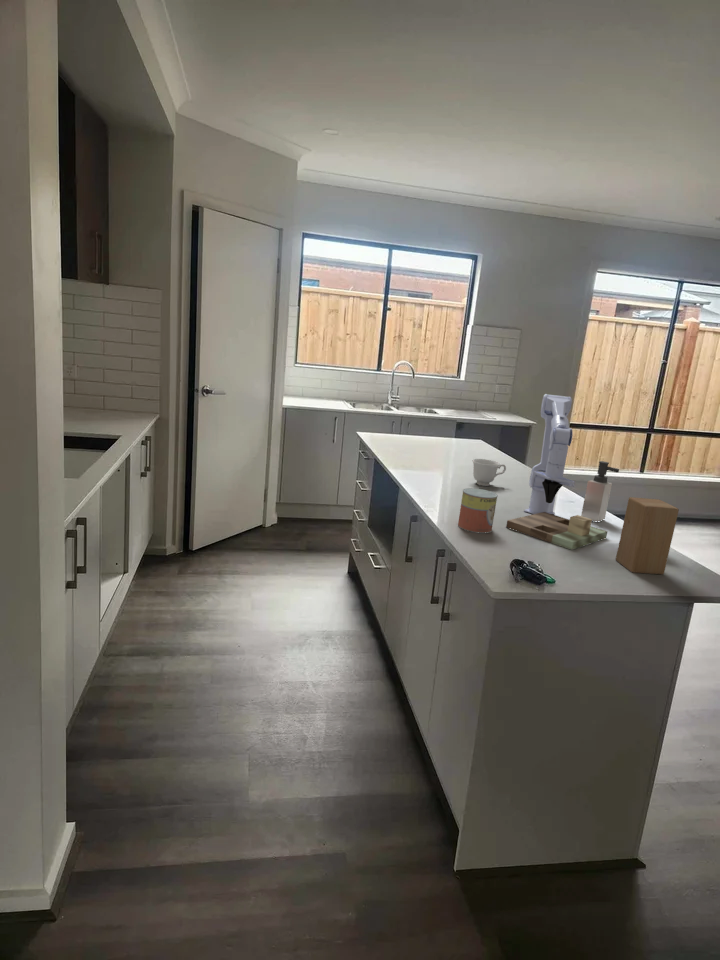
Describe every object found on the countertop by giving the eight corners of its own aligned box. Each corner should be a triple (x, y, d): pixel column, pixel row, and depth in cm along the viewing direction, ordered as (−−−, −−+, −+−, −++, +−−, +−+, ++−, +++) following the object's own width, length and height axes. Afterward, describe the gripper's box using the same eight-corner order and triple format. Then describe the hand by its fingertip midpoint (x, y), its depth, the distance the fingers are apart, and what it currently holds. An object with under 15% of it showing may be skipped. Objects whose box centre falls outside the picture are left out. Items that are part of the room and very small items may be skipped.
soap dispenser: (603, 524, 226) (615, 466, 221) (580, 518, 232) (591, 460, 227) (610, 522, 231) (622, 464, 226) (587, 515, 237) (598, 459, 232)
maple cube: (575, 529, 207) (577, 515, 206) (589, 533, 203) (591, 519, 202) (567, 531, 204) (570, 516, 202) (581, 536, 200) (584, 521, 199)
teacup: (505, 489, 266) (509, 467, 263) (471, 486, 265) (474, 463, 263) (500, 483, 277) (503, 461, 275) (467, 479, 277) (470, 457, 275)
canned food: (484, 535, 198) (490, 499, 195) (452, 526, 203) (457, 491, 201) (496, 528, 207) (502, 493, 204) (465, 520, 213) (470, 486, 210)
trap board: (542, 518, 226) (544, 511, 225) (606, 538, 209) (607, 531, 209) (506, 527, 209) (507, 520, 209) (571, 549, 193) (573, 542, 192)
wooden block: (614, 560, 188) (628, 496, 183) (646, 562, 189) (660, 499, 184) (631, 572, 178) (646, 506, 173) (664, 575, 179) (679, 508, 174)
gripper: (530, 459, 210) (524, 498, 213) (570, 469, 200) (562, 509, 203) (541, 458, 215) (534, 495, 218) (580, 467, 205) (572, 507, 208)
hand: (548, 502), depth 211 cm, fingers closed
